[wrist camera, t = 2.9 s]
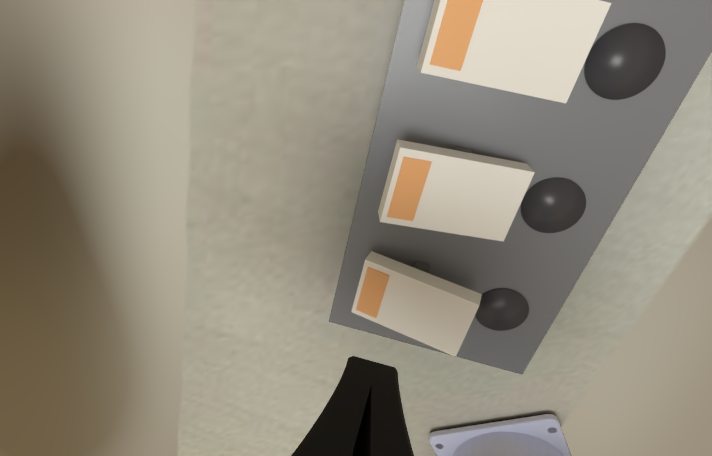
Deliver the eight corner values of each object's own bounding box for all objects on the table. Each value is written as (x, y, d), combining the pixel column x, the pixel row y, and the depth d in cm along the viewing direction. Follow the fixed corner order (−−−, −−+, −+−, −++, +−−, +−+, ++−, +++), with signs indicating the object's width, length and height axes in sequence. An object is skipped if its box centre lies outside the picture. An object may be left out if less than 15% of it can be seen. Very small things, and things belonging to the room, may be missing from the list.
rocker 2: (496, 230, 18) (504, 242, 17) (377, 211, 17) (380, 222, 16) (526, 163, 16) (535, 173, 15) (397, 139, 16) (400, 148, 15)
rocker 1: (555, 97, 15) (566, 104, 14) (416, 67, 14) (420, 73, 14) (597, 1, 13) (612, 3, 13) (444, -38, 13) (451, -38, 12)
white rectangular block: (458, 345, 20) (455, 358, 19) (357, 302, 21) (350, 312, 20) (481, 294, 18) (479, 305, 17) (371, 250, 19) (364, 260, 18)
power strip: (514, 339, 24) (523, 382, 21) (338, 291, 24) (326, 328, 22) (872, -322, 12) (999, -413, 9) (503, -400, 12) (522, -508, 9)
